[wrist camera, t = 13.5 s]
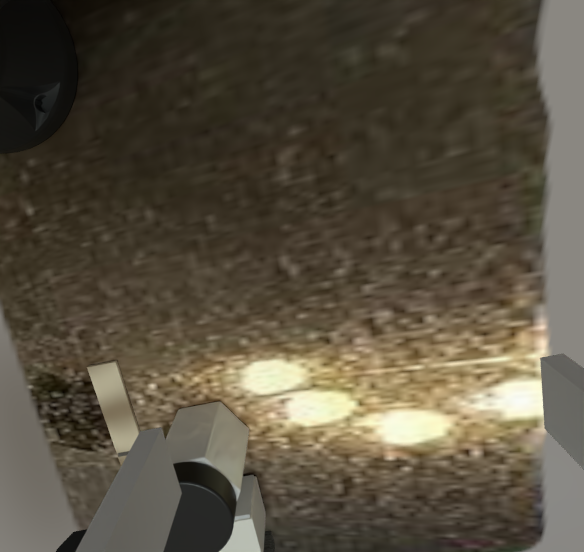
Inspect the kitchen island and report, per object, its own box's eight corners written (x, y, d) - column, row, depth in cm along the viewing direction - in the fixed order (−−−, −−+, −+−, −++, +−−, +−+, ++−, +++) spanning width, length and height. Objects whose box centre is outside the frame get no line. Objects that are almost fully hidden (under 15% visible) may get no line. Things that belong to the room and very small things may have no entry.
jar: (151, 431, 48) (108, 518, 36) (206, 385, 47) (179, 460, 35) (210, 483, 50) (186, 583, 38) (264, 441, 48) (257, 530, 37)
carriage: (144, 492, 50) (125, 537, 44) (255, 473, 49) (251, 515, 43) (157, 532, 51) (140, 580, 45) (265, 513, 50) (262, 559, 45)
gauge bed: (88, 365, 46) (86, 367, 45) (117, 360, 46) (115, 362, 45) (152, 551, 52) (151, 554, 51) (177, 546, 52) (176, 550, 51)
